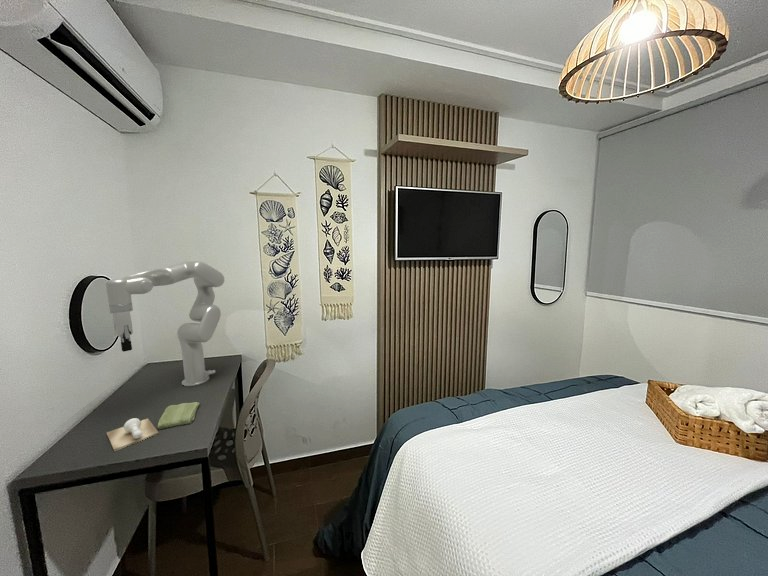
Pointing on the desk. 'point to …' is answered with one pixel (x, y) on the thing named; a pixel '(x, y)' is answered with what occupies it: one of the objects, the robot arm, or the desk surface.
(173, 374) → the desk surface
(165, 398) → the desk surface
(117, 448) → the oak pad
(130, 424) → the chess pawn
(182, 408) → the washcloth
